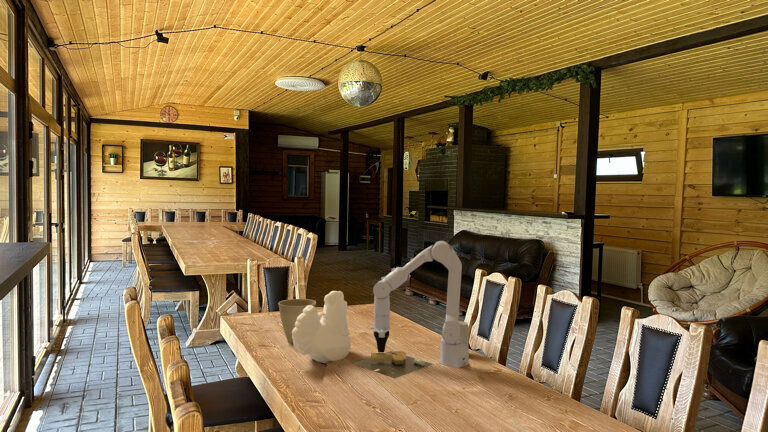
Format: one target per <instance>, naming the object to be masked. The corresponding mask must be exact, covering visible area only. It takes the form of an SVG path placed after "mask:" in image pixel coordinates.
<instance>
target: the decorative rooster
mask: <svg viewBox="0 0 768 432" xmlns="http://www.w3.org/2000/svg"><path fill="white" fill-rule="evenodd" d="M344 298H345V296H344V292H343V291H341V290H338V291H337V290H332V291H330V292H329V293H328V294H326V295H325V296H324V298H323V302H324V305H323V308H322V311H320V312H318V310H317V308H316V306H315V307H314V306H312V305H308V306H306V307H305V308H304V309H303V311H302V312H303V313H301V314H300V315H299V316H298V317H297V319H296V322H295V328H294V329H293V330H292V339H293V343H294V344H293V347H294V349H295V350H297V351H299V353H301V354H302V355H308V356H309V358H311V359H313V360H314V361H316V362H317V363H323V364H328V363H329V362H336V361H340V360H343V359H345V358H346V357H347V356H348V355H349V354H350V350H351V346H352V344H351V343H352V342H351V338H350V330H349V327H348V319H347V316H348V315H347V314H348V302H347V301H346V300H345V299H344Z"/></svg>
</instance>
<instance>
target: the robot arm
mask: <svg viewBox="0 0 768 432" xmlns="http://www.w3.org/2000/svg"><path fill="white" fill-rule="evenodd" d="M434 260H435V261H436V262H439V263H440V264H442V265H443V266H444V267H445V268H446V269H447V270H448V276H447V277H448V278H447V289H446V290H447V291H446V292H447V295H446V305H445V306H446V308H445V321H444V323H443V324H442V330H441V339H440V357H439V358H440V359H439V360H440V364H442V365H444V366H450V367H452V368H453V367H454V368H456V369H460V368H462V367H466V366H468V365H469V357H470V356H469V353H470V351H469V346H468V347H467V346H466V345H464V344H463V343H462V342H461V339H460V324H459V322H458V321H459V315H460V303H461V302H460V299H461V285H462V284H461V283H462V272H463V271H462V270H463V268H462V267H463V265H462V261H461V260H460V258H459V256H458V255H457V253H456V252H455V250H454V247H453V246H451V245H450V244H449V243H448V242H447V241H445V240H439V241H436V242H435V243H434V244H432V245H430V246H428V247H427V248H425V249H423V250H422V251H421V252H419V253H418V254H417V255H416V256H415V257H414V258H412V259H411V260H410V261H409V262H408V263H406V264H405V265H404V266H402V267H401V266H400V267H399V266H396V268H395V267H393V268H392V269H391V270H390V271H391V272H388V274H387V275H385V276H382V277H381V278H380V279H381V280H379V281H378V282H376V283H375V284H374V286H373V288H372V292H373V295H374V301H373V325H370V328H369V329H370V330H373V336H374V338H375V342H376V349H377V353H385V351H386V346H387V342H388V339H389V337H390V329H391V326H390V325H391V324H390V319H391V317H390V315H391V301H390V298H391V297H390V296H391V295H390V294H391V292H393V291H395V290H396V289H397V288H399V287H400V286H402V284H404V283H406V281H408V279H409V276H408V275H409V274H410V273H412V272H413V271H415V270H416V269H417V268H418V267H420V266H422V265H423V264H424V263H427V262H433V261H434Z"/></svg>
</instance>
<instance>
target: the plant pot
mask: <svg viewBox="0 0 768 432" xmlns="http://www.w3.org/2000/svg"><path fill="white" fill-rule="evenodd" d="M277 304H278V308H279V309H278V311H279V316H280V321H281V324H282V325H281V326H282V329H283V332H284V335H285V338H286V340H287V342H288V343H289V344H293V345H294V343H293V339H292V330H293V329H294V328H295V322H296V319H297V317H298V316H299V315H300V314H301V313H303V312H302V311H303V309H304V308H305V307H306V306H308V305H312V306H314V307H315V308H316V305H317V302H316V300H313V299H308V298H291V299H285V300H281V301H279V302H278V303H277Z"/></svg>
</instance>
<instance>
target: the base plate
mask: <svg viewBox="0 0 768 432" xmlns="http://www.w3.org/2000/svg"><path fill="white" fill-rule="evenodd" d="M392 352H394V351H392V350H390V351H387V352H385V353H392ZM351 364H353V365H355V366H358V367H361V368H364V369H367V370H369V371H371V372H375V373H378V374H381V375H384V376H386V377H389V378H392V379H397V378H399V377H403V376H405V375H407V374H410V373H413V372H416V371H418V370H421V369H424V368H426V367H429V366H432V365H433V363H431V362H427V361H425V360H422V359H418V358H415V357H412V356H408V355H406V363H405V364H403V365H395V364H392V363H391V361H371V356H369V357H368V358H364V359H361V360H358V361H355V362H352V363H351Z"/></svg>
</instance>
